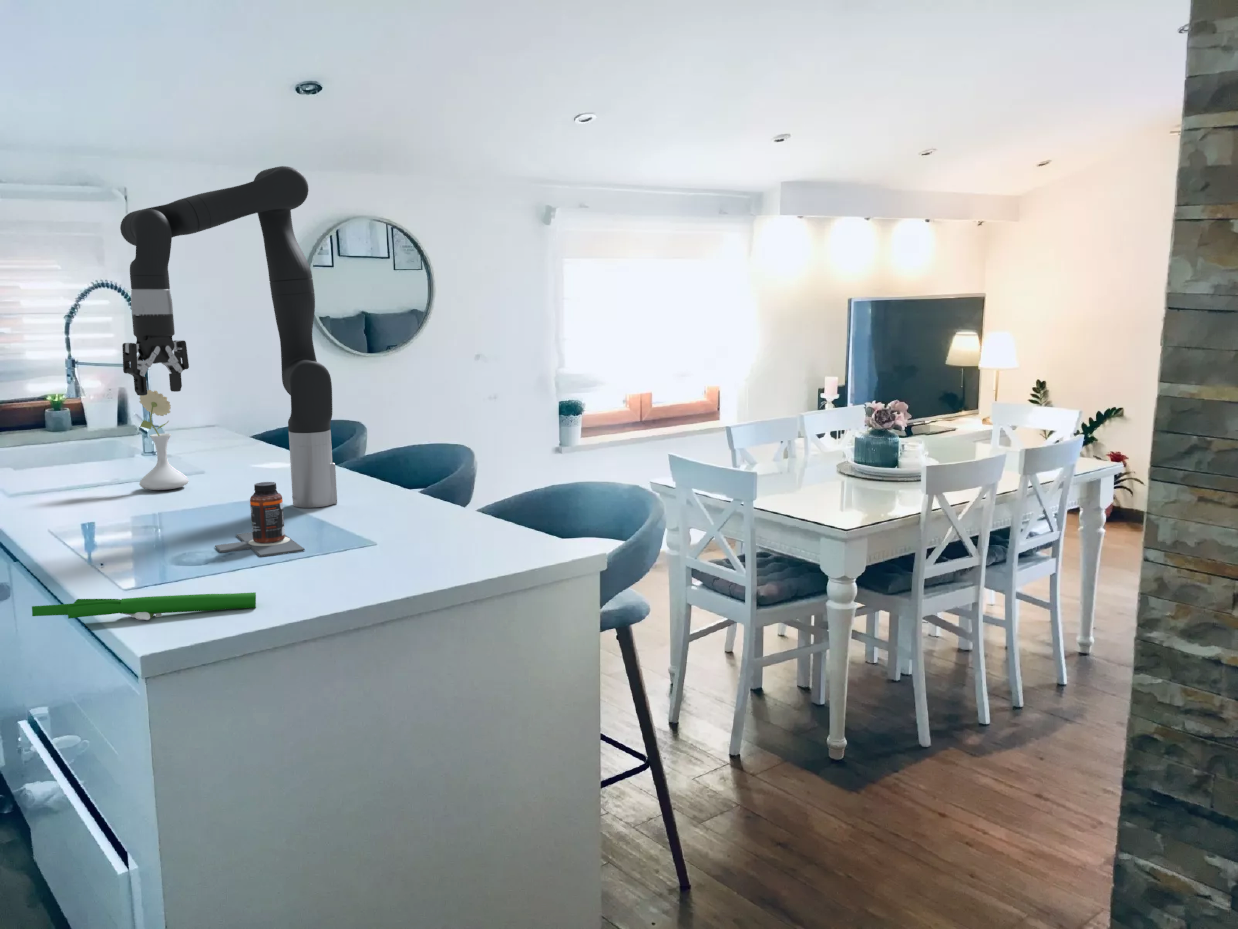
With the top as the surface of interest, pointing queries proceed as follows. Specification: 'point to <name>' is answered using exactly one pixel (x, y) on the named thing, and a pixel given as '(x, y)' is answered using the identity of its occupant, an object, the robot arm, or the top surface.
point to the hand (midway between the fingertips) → (159, 393)
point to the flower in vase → (160, 447)
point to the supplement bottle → (267, 513)
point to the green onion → (149, 605)
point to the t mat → (261, 546)
